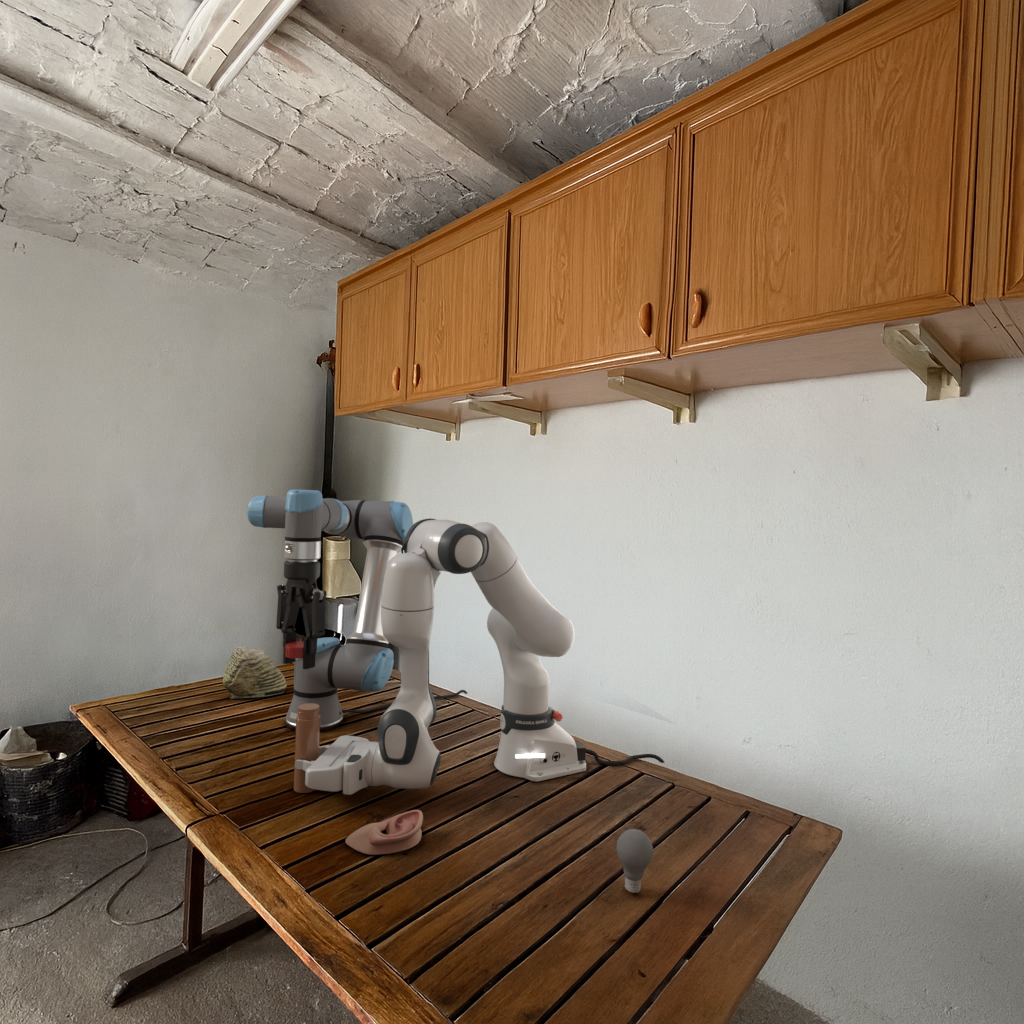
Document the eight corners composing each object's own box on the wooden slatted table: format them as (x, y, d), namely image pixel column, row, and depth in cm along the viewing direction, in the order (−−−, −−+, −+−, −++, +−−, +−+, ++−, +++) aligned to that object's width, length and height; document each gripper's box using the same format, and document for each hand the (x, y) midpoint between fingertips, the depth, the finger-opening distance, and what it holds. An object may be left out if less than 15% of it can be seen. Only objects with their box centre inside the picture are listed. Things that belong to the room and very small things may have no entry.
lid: (286, 652, 141) (286, 641, 141) (314, 651, 143) (314, 641, 143) (283, 659, 135) (283, 648, 135) (312, 658, 137) (312, 647, 137)
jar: (313, 793, 135) (316, 710, 135) (290, 792, 135) (293, 709, 135) (320, 783, 140) (324, 703, 140) (298, 782, 140) (301, 702, 140)
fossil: (218, 695, 195) (220, 647, 195) (278, 685, 208) (279, 640, 207) (228, 703, 189) (230, 653, 188) (289, 692, 201) (290, 645, 201)
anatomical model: (338, 827, 114) (365, 799, 125) (337, 849, 114) (364, 818, 125) (408, 839, 111) (429, 808, 122) (407, 861, 111) (428, 828, 122)
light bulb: (610, 879, 108) (613, 822, 108) (644, 879, 109) (647, 822, 109) (619, 902, 102) (622, 840, 102) (655, 901, 103) (658, 840, 103)
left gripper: (260, 557, 140) (257, 660, 141) (317, 565, 130) (314, 677, 131) (288, 555, 147) (285, 654, 147) (345, 563, 137) (341, 669, 137)
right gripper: (380, 730, 146) (322, 726, 148) (348, 767, 126) (282, 761, 127) (379, 757, 146) (321, 752, 148) (347, 799, 126) (280, 792, 127)
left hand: (299, 664), depth 139 cm, fingers closed on lid, 6 cm apart
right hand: (302, 757), depth 137 cm, fingers closed on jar, 5 cm apart
